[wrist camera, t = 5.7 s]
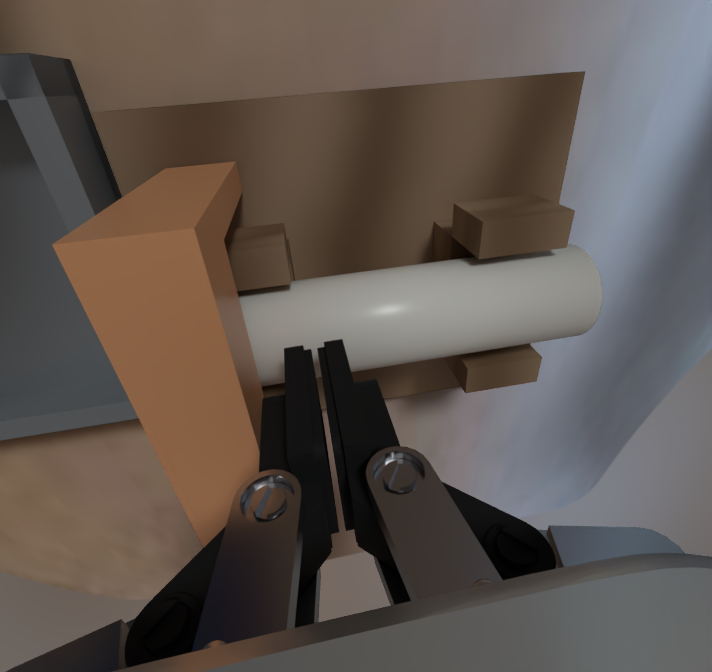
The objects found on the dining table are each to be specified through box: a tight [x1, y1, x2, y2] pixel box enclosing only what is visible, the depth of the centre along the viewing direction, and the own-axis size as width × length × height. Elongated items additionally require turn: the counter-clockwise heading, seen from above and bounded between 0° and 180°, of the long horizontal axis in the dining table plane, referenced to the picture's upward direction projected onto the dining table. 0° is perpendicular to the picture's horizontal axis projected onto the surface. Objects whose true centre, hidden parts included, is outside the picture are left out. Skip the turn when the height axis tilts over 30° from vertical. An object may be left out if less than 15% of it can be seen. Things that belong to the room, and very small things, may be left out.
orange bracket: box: [52, 161, 264, 548], centre depth 13 cm, size 2×10×8 cm, turn 4°
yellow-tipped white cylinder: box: [237, 244, 602, 387], centre depth 14 cm, size 14×4×4 cm, turn 94°
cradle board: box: [92, 71, 585, 409], centre depth 16 cm, size 17×14×6 cm
